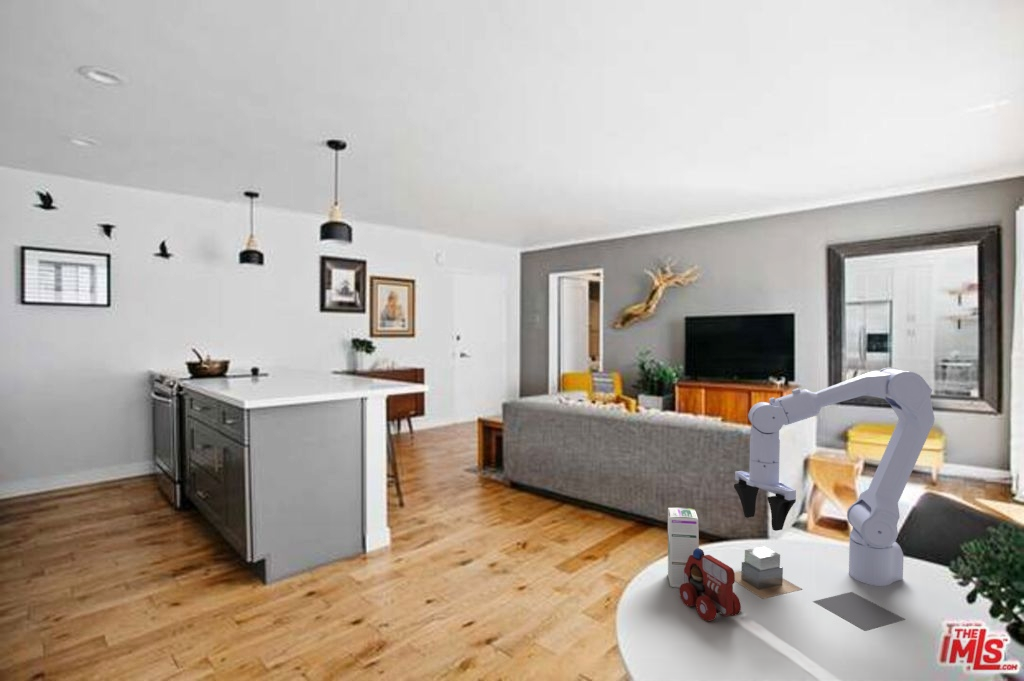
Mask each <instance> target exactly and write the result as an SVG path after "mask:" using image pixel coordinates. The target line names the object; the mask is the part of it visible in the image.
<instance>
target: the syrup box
mask: <svg viewBox="0 0 1024 681" xmlns="http://www.w3.org/2000/svg"><path fill="white" fill-rule="evenodd" d="M699 520H700V519H699V518H698V514H697V512H696V509H695V508H690V507H668V508H667V577H668V581H669V582H668V583H669V587H673V588H678V589H680V586H681V585H682V584H684V568H685V566H686V563H687V561H688V558H689V556H690V555H693V551H694V550H695V549H697V548H699V549H700V544H699V542H700V539H699V537H700V536H699V532H700V531H699V528H700V526H699V524H700V523H699Z"/></svg>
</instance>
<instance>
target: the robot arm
mask: <svg viewBox="0 0 1024 681" xmlns="http://www.w3.org/2000/svg"><path fill="white" fill-rule="evenodd" d="M791 392H792V393H789V394H786V395H783V396H780V397H777V398H775V397H773V396H772V397H770V398H769V399H768V400H769V402H765V401H760V402H756V403H755V404H753V405H752V407H751V408H750V410H749V412H748V414H747V416H748V417H747V418H748V420H749V422H750V423H751V425H750V436H749V471H743V470H739V471H735V472H734V473H735V474H734V480H735V481H737V482H738V483H734V484H733V488H734V489H735V492H736V494H737V495H738V497H739V500H740V504H741V506H742V511H743V516H744V518H746V519H748V518H754V517H755V513H756V506H757V505H756V504H757V502H756V501H757V497H758V492H759V489H761V490H763V491H766V492H769V493H771V494H774V495H771V496H767V497H766V498H767V499H766V500H767V502H768V503H769V509H770V514H771V529H772V530H773V531H774V532H775V531H776V532H777V531H782V530H783V529H784V525H785V522H786V519H787V517H788V514H789V513H790V511H791V509H792V507H793V506H794V504H795V503H796V502H797V498H796V497H797V489H795V488H791V487H789V486H788V485H787V484H785V483H783V482H782V481H780V454H781V453H780V446H781V445H780V443H781V442H780V430H781V429H782V428H783V426H784V425H785V426H789V425H791V424H794V423H798V422H801V421H804V420H808V419H810V418H812V417H816V416H818V415H819V413H820V411H821V410H822V408H824V407H827V406H831V405H835V404H838V403H842V402H845V401H849V400H851V399H856V398H860V397H862V396H863V397H864V396H866V397H873V398H880V399H882V400H883V399H884V401H886V402H887V403H888V404H889V405H890V407H891V408H892V410H893V412H894V414H895V415H896V416H897V417H898V421H897V423H896V425H895V427H894V430H893V432H892V434H891V436H890V439H889V441H888V442H887V445H886V447H885V450H884V452H883V455H882V457H881V458H880V461H879V463H878V466H877V468H876V470H875V472H874V475H873V478H872V479H871V481H870V485H869V487H868V488H867V489H866V490H864V491H863V492H861V493H860V495H859V496H858V498H857V500H856V501H855V502H854V503H851V505H850V506H849V507H848V509H847V511H846V519H847V521H848V523H849V525H851V527H852V530H851V532H850V533H849V549H848V550H849V552H848V554H849V556H848V575H849V576H851V578H853V579H854V580H856V581H858V582H861V583H864V584H867V585H871V586H876V587H877V586H878V587H886V586H887V587H888V586H889V585H891V584H892V583H894V582H898V581H903V580H904V559H905V558H904V552H903V550H902V548H901V546H900V544H899V543H898V542H896V541H897V538H898V534H899V533H898V522H899V519H900V518H901V516H900V515H901V514H900V511H899V510H900V509H899V502H900V499H901V498H902V495H903V492H904V490H905V488H906V485H907V483H908V482H909V479H910V477H911V476H912V475H911V474H912V473H913V470H914V468H915V466H916V463H917V461H918V459H919V456H920V455H921V452H922V450H923V448H924V447H925V446H924V445H925V443H926V441H927V439H928V436H929V434H930V432H931V430H932V428H933V425H934V423H935V414H934V410H933V404H932V403H933V402H932V398H931V396H932V393H933V389H932V388H931V387H930V385H929V384H928V383H927V381H926V379H924V378H923V376H921V375H920V374H919V373H917V372H914V371H907V370H901V369H898V368H896V367H885V368H884V367H883V368H881V369H880V370H872V371H869V372H866V373H863V374H860V375H857V376H854V377H852V378H849V379H846V380H843V381H841V382H838V383H836V384H833V385H830V386H828V387H825V388H823V389H820V390H818V391H815V392H814V391H811V390H809V389H806V388H804V389H800V388H798V387H797V388H794V389H792V390H791Z"/></svg>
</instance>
